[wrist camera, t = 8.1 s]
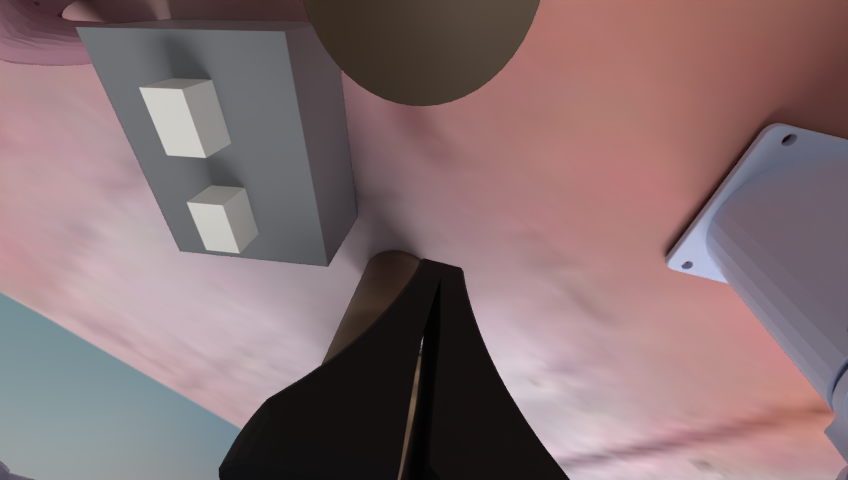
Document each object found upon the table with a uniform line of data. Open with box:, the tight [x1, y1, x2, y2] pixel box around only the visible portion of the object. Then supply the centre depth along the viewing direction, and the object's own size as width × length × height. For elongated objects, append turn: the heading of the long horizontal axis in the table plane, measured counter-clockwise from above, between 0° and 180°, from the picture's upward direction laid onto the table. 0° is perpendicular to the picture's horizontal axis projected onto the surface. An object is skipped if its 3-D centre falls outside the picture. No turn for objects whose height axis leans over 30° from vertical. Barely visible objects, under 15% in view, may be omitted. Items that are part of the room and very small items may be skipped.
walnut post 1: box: [322, 250, 420, 364], centre depth 20 cm, size 4×4×10 cm
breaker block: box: [76, 19, 357, 267], centre depth 17 cm, size 8×10×7 cm
